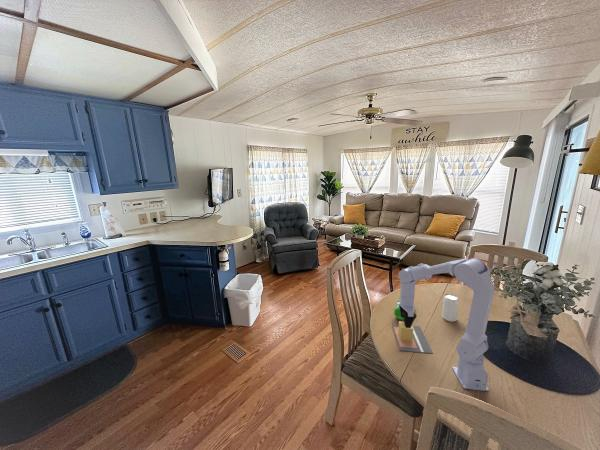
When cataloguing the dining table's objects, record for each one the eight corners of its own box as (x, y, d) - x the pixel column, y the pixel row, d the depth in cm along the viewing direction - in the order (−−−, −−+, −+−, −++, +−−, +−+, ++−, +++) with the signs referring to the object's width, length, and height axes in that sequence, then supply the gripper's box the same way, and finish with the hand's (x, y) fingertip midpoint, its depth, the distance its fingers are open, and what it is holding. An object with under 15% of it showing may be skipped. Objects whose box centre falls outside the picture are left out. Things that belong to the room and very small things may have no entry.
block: (412, 340, 109) (413, 329, 108) (400, 340, 110) (401, 328, 109) (409, 333, 114) (410, 322, 113) (398, 332, 115) (398, 321, 113)
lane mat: (432, 353, 102) (432, 352, 102) (399, 350, 104) (399, 349, 104) (419, 326, 119) (419, 326, 119) (391, 324, 121) (391, 324, 121)
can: (459, 322, 121) (461, 300, 118) (444, 321, 122) (446, 299, 120) (453, 315, 127) (456, 294, 125) (440, 314, 129) (442, 293, 126)
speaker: (408, 323, 122) (409, 309, 121) (393, 319, 126) (393, 305, 125) (413, 306, 137) (414, 294, 135) (399, 303, 141) (400, 291, 139)
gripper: (394, 286, 115) (393, 312, 118) (401, 302, 101) (399, 331, 104) (410, 287, 114) (408, 313, 117) (419, 303, 100) (417, 332, 103)
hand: (405, 322), depth 110 cm, fingers open, 7 cm apart
